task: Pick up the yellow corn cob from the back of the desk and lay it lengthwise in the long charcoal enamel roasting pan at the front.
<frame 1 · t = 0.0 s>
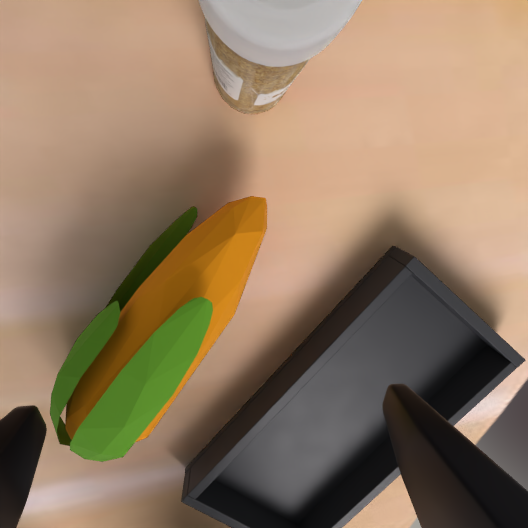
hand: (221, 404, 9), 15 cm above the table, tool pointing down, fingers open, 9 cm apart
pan: (338, 404, 28), on the table
sprinkles bottle: (250, 74, 21), on the table
corn: (170, 302, 25), on the table
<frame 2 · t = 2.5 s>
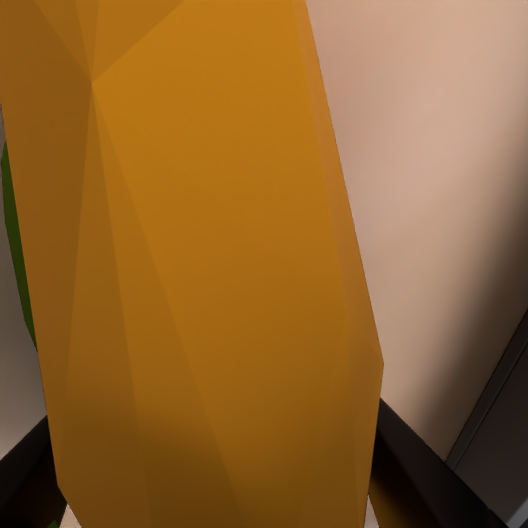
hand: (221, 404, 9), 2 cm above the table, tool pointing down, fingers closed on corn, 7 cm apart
corn: (217, 347, 11), on the table, touching gripper
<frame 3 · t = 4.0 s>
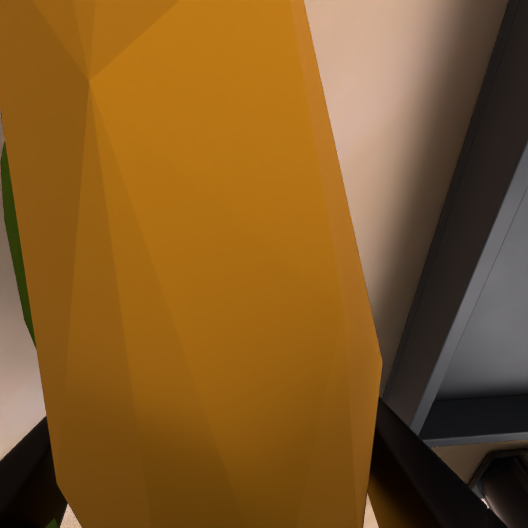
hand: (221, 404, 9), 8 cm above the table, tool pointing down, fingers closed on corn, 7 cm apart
corn: (217, 347, 11), point 6 cm above the table, touching gripper
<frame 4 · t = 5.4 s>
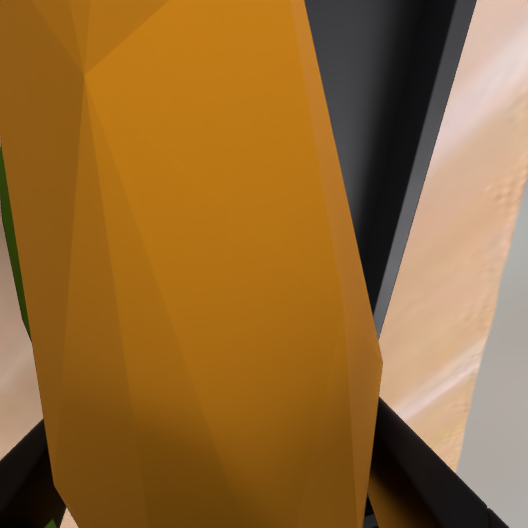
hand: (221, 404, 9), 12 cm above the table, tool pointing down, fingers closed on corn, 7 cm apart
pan: (274, 214, 19), on the table
corn: (216, 347, 11), point 10 cm above the table, touching gripper
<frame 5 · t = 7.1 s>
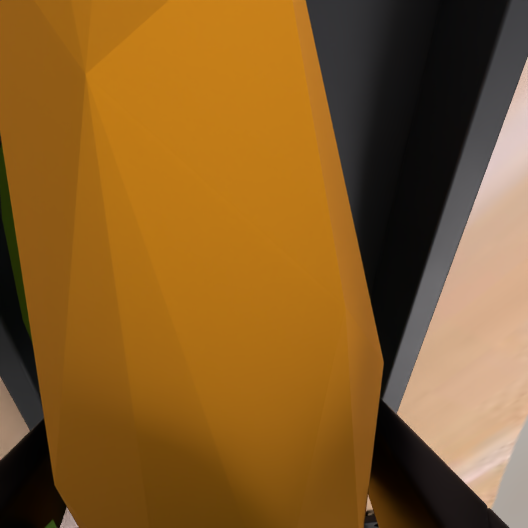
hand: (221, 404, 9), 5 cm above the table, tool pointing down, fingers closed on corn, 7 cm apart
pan: (221, 295, 13), on the table
corn: (217, 347, 11), point 3 cm above the table, touching gripper
when the fingers open (2 cm above the table, at t = 8.4 s): corn stays where it is, resting on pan.
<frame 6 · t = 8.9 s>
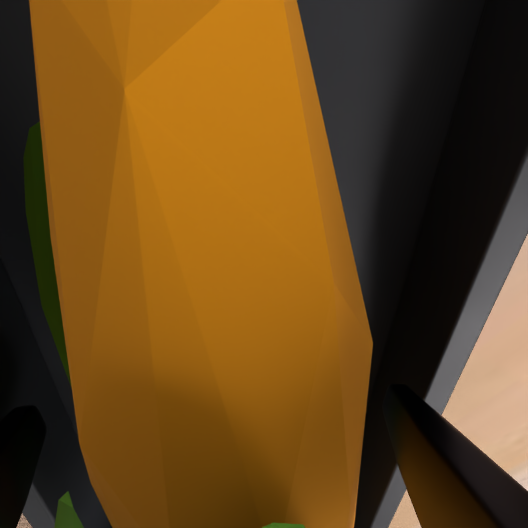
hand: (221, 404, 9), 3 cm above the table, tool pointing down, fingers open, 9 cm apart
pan: (223, 329, 11), on the table
corn: (219, 337, 11), resting on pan
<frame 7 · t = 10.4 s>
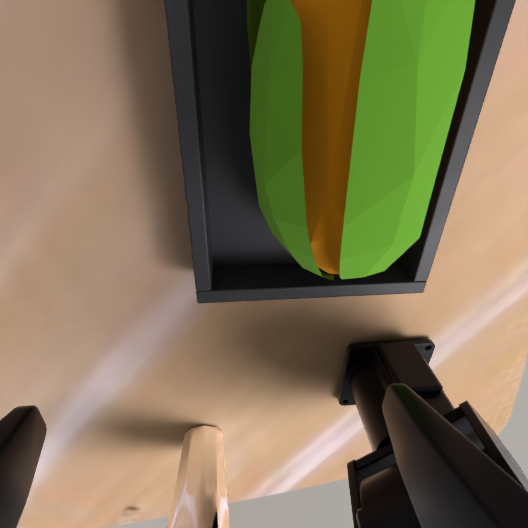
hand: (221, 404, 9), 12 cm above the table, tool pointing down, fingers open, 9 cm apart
milkshake: (208, 435, 30), on the table
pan: (324, 30, 15), on the table
corn: (322, 31, 15), resting on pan
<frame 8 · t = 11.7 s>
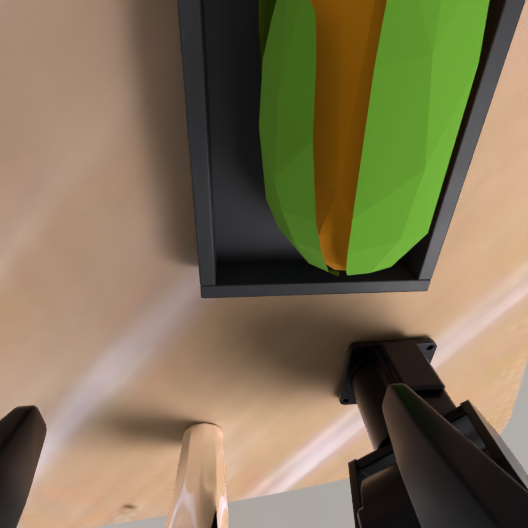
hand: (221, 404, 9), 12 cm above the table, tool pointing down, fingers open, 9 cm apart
milkshake: (207, 433, 30), on the table
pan: (333, 25, 15), on the table
corn: (332, 26, 15), resting on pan
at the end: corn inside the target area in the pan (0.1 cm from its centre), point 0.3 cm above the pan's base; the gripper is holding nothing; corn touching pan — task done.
